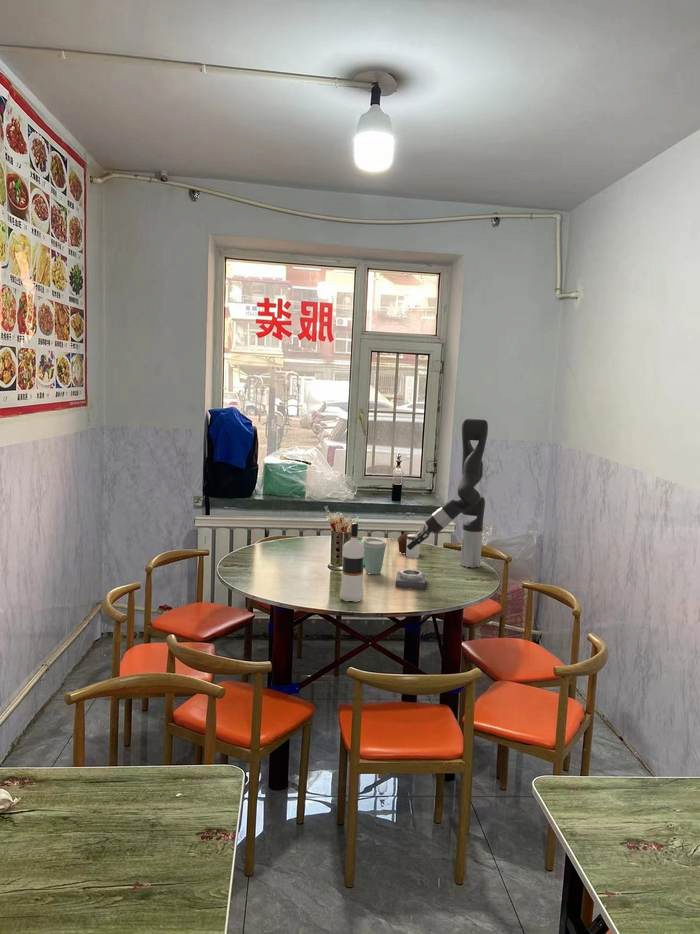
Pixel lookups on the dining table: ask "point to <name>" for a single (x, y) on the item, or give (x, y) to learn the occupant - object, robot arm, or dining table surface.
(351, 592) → the vodka
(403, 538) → the muffin
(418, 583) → the grey ring holder base
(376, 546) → the disposable coffee cup
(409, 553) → the white banded cylinder
